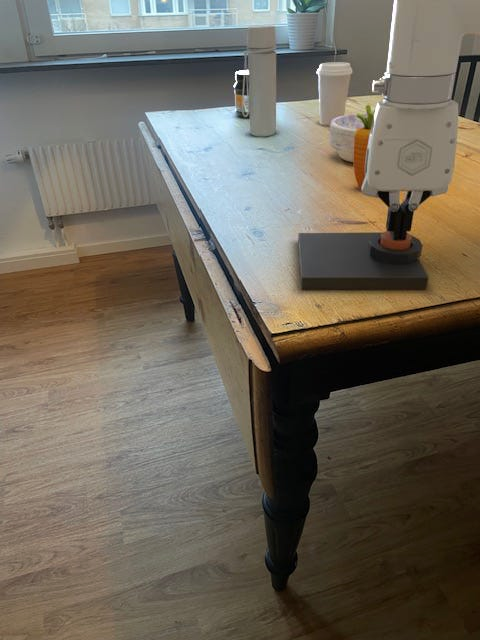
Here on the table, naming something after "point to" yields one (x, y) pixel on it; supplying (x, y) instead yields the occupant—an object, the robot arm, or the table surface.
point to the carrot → (362, 145)
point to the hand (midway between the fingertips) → (397, 235)
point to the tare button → (395, 241)
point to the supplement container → (239, 92)
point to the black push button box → (358, 263)
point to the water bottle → (261, 80)
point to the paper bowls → (344, 134)
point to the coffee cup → (333, 90)
